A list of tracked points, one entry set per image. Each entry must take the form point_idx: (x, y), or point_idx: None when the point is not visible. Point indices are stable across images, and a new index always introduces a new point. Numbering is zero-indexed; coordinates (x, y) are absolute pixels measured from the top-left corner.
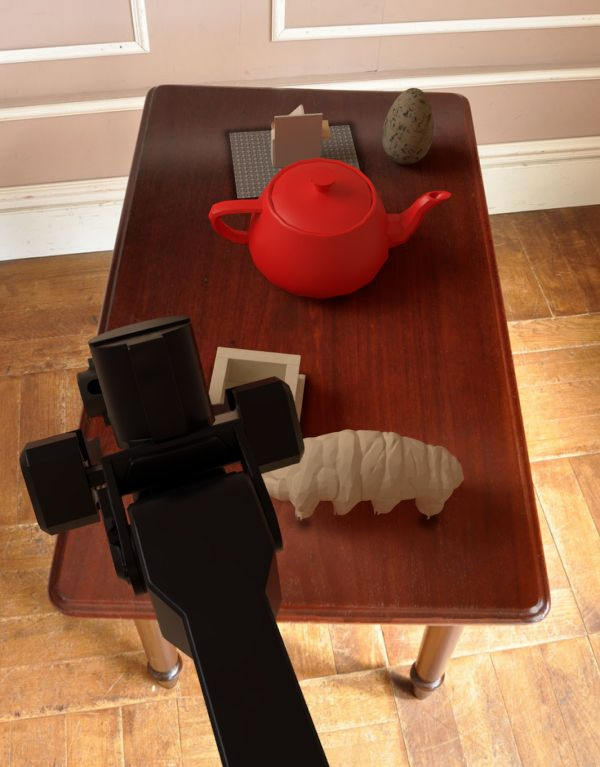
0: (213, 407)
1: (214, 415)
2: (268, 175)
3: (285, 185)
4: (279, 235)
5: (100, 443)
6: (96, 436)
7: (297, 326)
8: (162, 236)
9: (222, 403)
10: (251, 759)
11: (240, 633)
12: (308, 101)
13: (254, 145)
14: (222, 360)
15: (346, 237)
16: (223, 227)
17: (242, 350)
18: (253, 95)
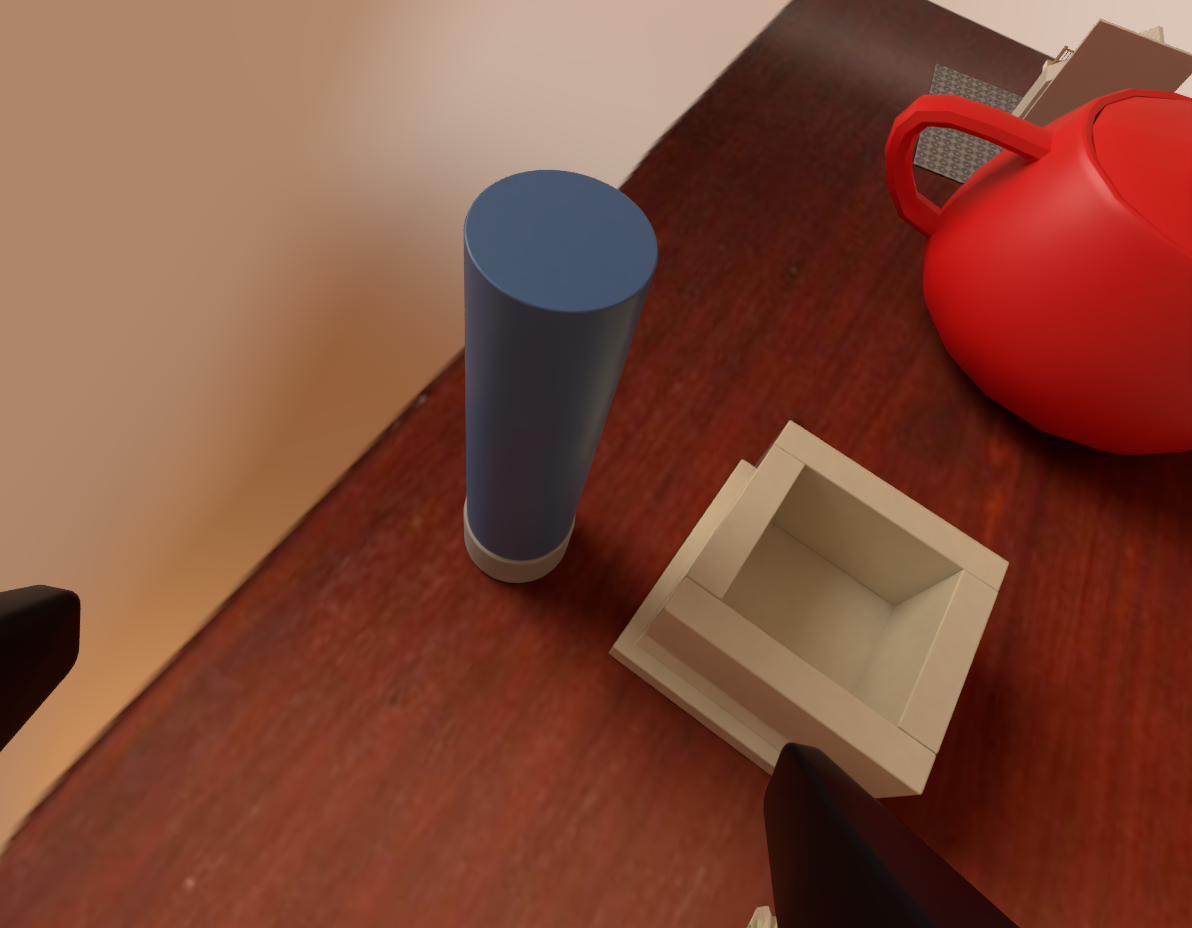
0: (861, 863)
1: (821, 888)
2: (984, 155)
3: (1141, 117)
4: (1077, 224)
5: (42, 651)
6: (13, 606)
7: (954, 463)
8: (745, 156)
9: (971, 913)
10: None
11: None
12: None
13: (974, 100)
14: (787, 462)
15: None
16: (908, 165)
17: (851, 463)
18: (996, 34)
